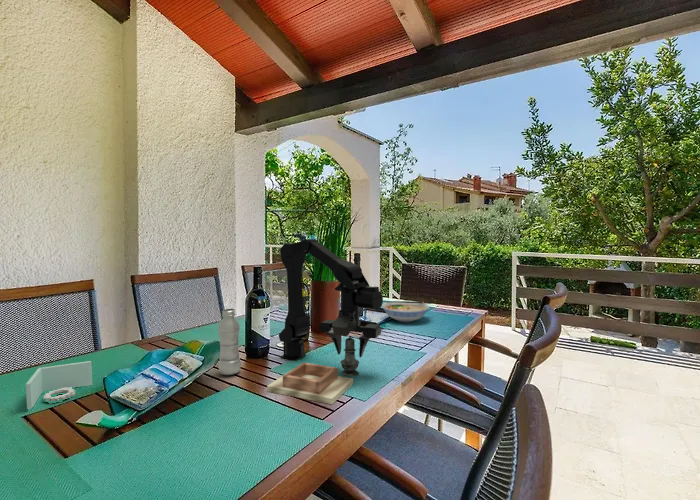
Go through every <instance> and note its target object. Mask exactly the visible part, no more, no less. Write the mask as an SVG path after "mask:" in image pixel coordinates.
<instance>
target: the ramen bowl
mask: <svg viewBox="0 0 700 500" xmlns="http://www.w3.org/2000/svg"><path fill="white" fill-rule="evenodd" d="M429 304H430V305H431V304H432V301H415V300H414V301H412V300H411V301H409V300H408V301H407V300H398V301H397V300H395V301H393V300H392V301H386V300H385V301H384V300H383V303H382V306H381V308H383V310H384V312H385V313H386V315H387V316H388V317H389V318H392V319H393V320H396V321H398V322H399V323H412V322H414V321H418V320H420V319H421V318H423V317H424V316H425V314H427V312H428V311H429V309H430V305H429Z"/></svg>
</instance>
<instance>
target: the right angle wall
mask: <svg viewBox="0 0 700 500" xmlns="http://www.w3.org/2000/svg"><path fill="white" fill-rule="evenodd" d="M92 370H93V369H92V361H91V360H88V361H82V362H74V363H72V362H71V363H66V364H58V365H53V366H46V367H45V366H43V367H38V368H37V369H36V371H35V372H34V373H33V374H32V376H31V377H30V378H29V380H27V382H26V383H25V396H26V410H27V409H31V408H32V407H33V406H34V404H35V403H36V401H37V400H38V398H39V396H40V395H41V393H42V392H43V391H47V390H53V391H49V393H45V394H43V395H42V400H44V399H46V401H51V402H52V401H57V400H61V399H66V398H70V396H75V395H76V390H75V389H72V387H80V386H88V387H90V386H89V385H92V386H93V373H92ZM55 389H57V390H55ZM58 393H66V394H63V395H58V396H55V397H51V395H53V394H58ZM70 399H71V398H70Z"/></svg>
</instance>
